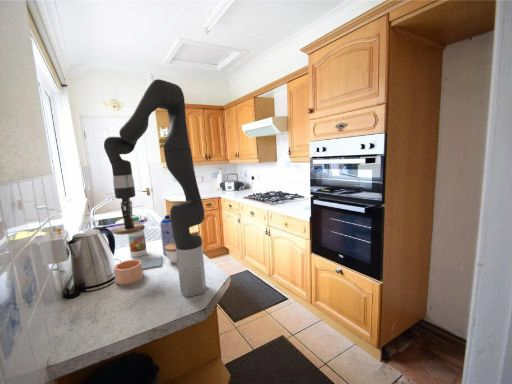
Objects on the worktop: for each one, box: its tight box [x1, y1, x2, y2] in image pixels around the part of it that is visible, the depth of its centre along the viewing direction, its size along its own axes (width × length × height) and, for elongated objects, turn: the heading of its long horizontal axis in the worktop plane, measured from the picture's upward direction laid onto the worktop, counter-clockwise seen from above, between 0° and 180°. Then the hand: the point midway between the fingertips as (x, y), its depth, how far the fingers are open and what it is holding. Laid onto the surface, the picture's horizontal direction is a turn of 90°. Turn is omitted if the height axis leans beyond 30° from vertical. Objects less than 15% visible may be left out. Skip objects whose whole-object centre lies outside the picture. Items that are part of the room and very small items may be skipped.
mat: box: [140, 255, 163, 271], centre depth 121 cm, size 11×11×1 cm
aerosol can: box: [159, 214, 175, 257], centre depth 132 cm, size 8×8×20 cm
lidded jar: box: [165, 242, 178, 264], centre depth 123 cm, size 11×11×9 cm
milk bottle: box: [127, 215, 147, 258], centre depth 132 cm, size 8×8×20 cm
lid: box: [113, 218, 145, 236], centre depth 108 cm, size 12×12×5 cm
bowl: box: [113, 258, 144, 286], centre depth 107 cm, size 10×10×6 cm
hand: (129, 226), depth 108 cm, fingers closed on lid, 3 cm apart
